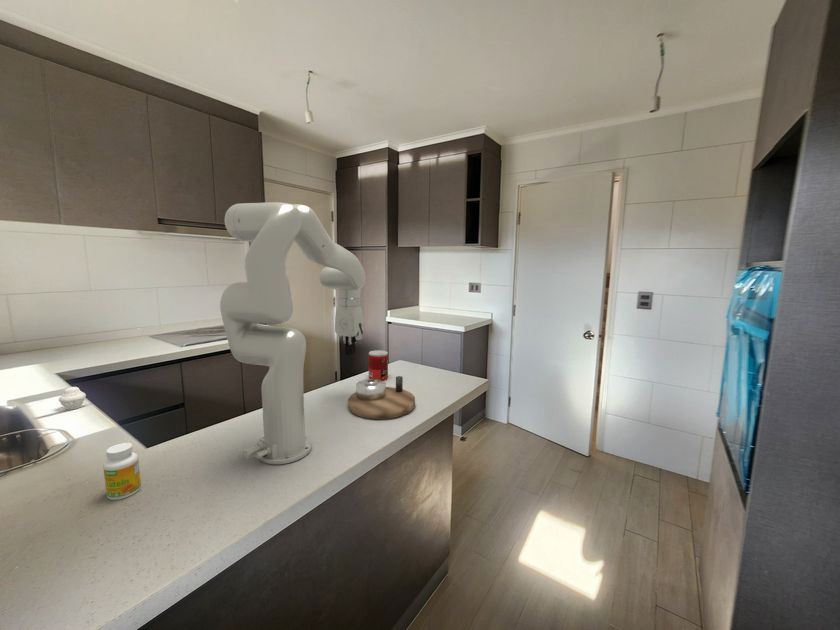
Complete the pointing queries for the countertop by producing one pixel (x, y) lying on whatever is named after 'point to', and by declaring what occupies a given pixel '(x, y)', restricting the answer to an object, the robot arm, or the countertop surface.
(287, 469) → the countertop surface
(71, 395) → the muffin
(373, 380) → the cover
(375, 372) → the canned food
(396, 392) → the turntable
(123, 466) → the supplement bottle
